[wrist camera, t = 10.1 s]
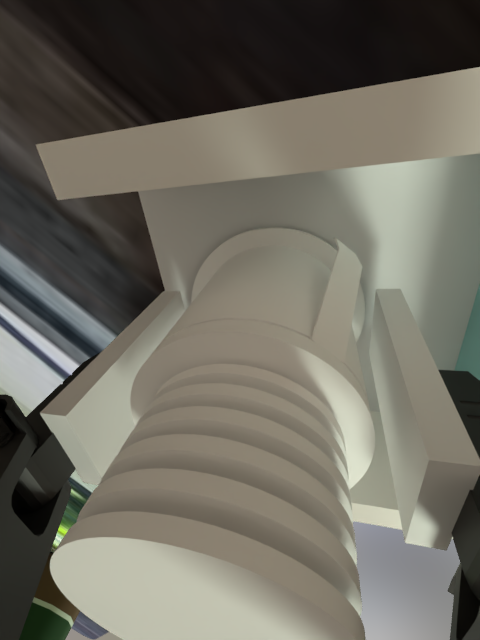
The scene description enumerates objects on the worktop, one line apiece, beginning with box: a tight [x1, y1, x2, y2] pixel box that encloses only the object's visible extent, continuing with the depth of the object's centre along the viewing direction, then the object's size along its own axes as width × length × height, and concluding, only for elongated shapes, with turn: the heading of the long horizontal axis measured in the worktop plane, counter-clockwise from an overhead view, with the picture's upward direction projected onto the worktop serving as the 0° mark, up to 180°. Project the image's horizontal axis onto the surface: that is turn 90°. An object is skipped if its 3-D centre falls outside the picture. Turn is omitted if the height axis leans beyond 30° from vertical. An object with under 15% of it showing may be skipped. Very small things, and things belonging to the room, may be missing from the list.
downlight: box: [50, 227, 375, 640], centre depth 9 cm, size 8×7×10 cm
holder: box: [36, 67, 480, 539], centre depth 11 cm, size 13×14×5 cm
